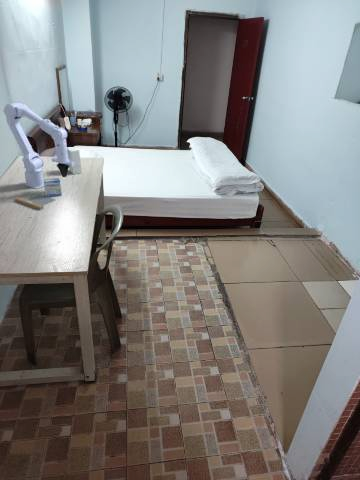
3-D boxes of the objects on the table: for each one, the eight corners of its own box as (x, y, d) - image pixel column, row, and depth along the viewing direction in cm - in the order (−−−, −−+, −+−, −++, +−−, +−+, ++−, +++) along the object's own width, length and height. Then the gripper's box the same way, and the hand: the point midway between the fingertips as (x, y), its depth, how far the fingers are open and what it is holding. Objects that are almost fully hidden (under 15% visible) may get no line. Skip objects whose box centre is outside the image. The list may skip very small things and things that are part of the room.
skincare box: (82, 173, 210) (80, 150, 202) (72, 174, 207) (70, 151, 199) (77, 169, 216) (75, 146, 208) (68, 170, 213) (66, 147, 205)
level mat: (15, 201, 169) (14, 197, 168) (36, 193, 179) (35, 189, 178) (40, 210, 162) (39, 206, 161) (60, 201, 172) (59, 197, 171)
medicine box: (46, 197, 175) (44, 181, 171) (45, 194, 179) (43, 178, 174) (62, 195, 179) (60, 180, 174) (60, 192, 182) (58, 177, 178)
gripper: (77, 153, 175) (79, 177, 182) (57, 148, 181) (60, 171, 187) (67, 155, 170) (70, 181, 176) (47, 150, 175) (50, 175, 182)
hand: (64, 176), depth 182 cm, fingers closed
